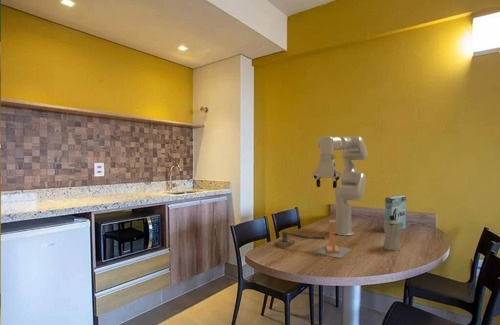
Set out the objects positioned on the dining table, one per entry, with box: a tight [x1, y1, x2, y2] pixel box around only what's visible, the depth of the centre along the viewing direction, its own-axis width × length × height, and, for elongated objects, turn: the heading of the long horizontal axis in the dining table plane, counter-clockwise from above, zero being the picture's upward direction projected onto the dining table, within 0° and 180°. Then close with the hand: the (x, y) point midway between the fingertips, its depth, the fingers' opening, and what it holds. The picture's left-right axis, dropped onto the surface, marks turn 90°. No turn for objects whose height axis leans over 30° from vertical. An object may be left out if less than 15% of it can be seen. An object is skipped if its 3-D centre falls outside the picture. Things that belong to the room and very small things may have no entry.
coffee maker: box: [382, 215, 401, 252], centre depth 158 cm, size 15×9×18 cm, turn 151°
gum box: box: [384, 195, 407, 231], centre depth 198 cm, size 20×5×23 cm, turn 126°
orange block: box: [324, 219, 340, 253], centre depth 153 cm, size 10×6×15 cm, turn 172°
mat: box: [311, 243, 353, 260], centre depth 152 cm, size 17×15×1 cm
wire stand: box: [274, 230, 326, 249], centre depth 157 cm, size 10×26×8 cm, turn 52°
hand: (326, 187), depth 166 cm, fingers open, 9 cm apart
